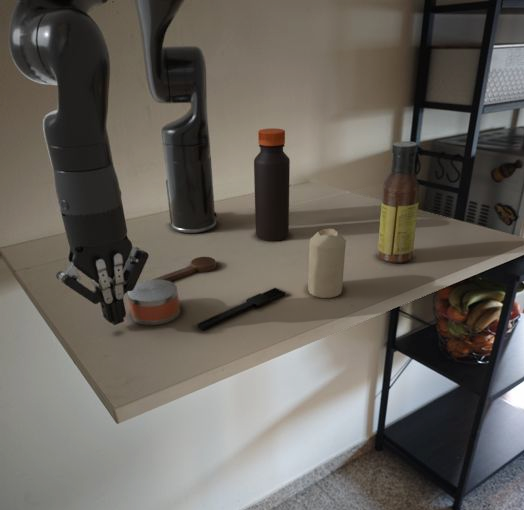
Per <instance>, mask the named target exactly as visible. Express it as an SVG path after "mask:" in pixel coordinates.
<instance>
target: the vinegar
mask: <svg viewBox="0 0 524 510" xmlns="http://www.w3.org/2000/svg"><path fill="white" fill-rule="evenodd" d="M257 132H258V136H257V137H258V138H257V139H258V147H259V148H260V149H259V150H260V151H259V152H258V154H257V155H256V156H255V157H254V159H253V179H254V180H253V181H254V182H253V183H254V185H253V187H254V218H255V221H254V223H255V236H256V237H257V238H258V239H259V240H262V241H267V242H277V241H281V240H284V239H286V238H288V236H289V234H290V176H291V175H290V170H291V168H290V166H291V165H290V164H291V160H290V158H289V156H288V154H287V153H285V151H284V147H285V144H286V130H285V129H282V128H275V127H274V128H273V127H272V128H263V129H259V130H258V131H257Z"/></svg>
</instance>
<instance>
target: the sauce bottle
mask: <svg viewBox="0 0 524 510" xmlns="http://www.w3.org/2000/svg"><path fill="white" fill-rule="evenodd" d="M391 148H392V149H391V153H392V159H391V168H390V173H389V175H388V176H387V178H386V179H385V180H384V182H383V187H382V197H381V199H382V200H381V207H380V221H379V232H378V233H379V234H378V244H377V249H378V257H379V258H380V259H381V261H385V262H388V263H392V264H394V263H395V264H401V263H405V262H408V261H410V260H411V258H412V257H413V250H414V246H415V238H416V228H417V218H418V211H419V202H420V201H419V200H420V199H419V198H420V197H419V194H420V183H419V181H418V177H417V175H416V157H417V153H418V152H419V143H418V142H416V141H407V140H405V141H404V140H403V141H397V142H394V143H392V147H391Z"/></svg>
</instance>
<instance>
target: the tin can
mask: <svg viewBox="0 0 524 510" xmlns="http://www.w3.org/2000/svg"><path fill="white" fill-rule="evenodd" d="M127 297H128V303H129V308H130V313H131V318H132V319H133V321H134V322H136V323H137V324H140V325H144V326H160V325H164V324H167V323H170V322H172V321H174V320H175V319H176V318H177V317H179V316H180V313H181V310H180V309H181V308H180V301H179V300H180V299H179V292H178V286H177V285H176V284H175V282H172V281H167V280H152V279H148V280H144V281H140V282H137V283H136V285H135V288H134V289H133V290H132V291H128V292H127Z"/></svg>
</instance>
